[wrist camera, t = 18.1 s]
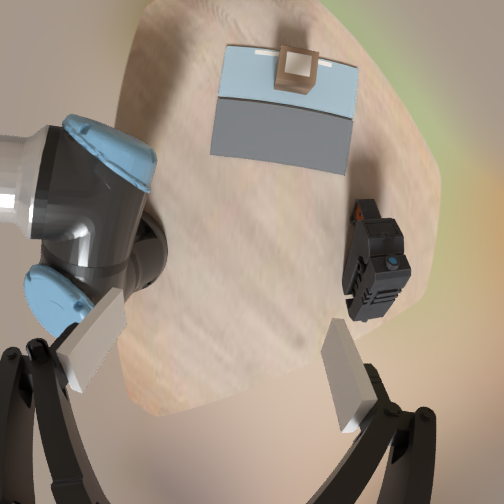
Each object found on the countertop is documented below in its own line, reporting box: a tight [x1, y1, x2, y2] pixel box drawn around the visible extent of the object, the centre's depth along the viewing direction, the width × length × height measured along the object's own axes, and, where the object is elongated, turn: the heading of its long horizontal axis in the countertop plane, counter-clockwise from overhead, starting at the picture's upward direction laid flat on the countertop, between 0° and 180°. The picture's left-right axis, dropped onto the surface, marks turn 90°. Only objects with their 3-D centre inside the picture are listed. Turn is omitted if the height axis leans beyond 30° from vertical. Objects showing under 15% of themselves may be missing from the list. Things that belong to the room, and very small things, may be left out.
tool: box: [342, 199, 411, 322], centre depth 40 cm, size 6×19×15 cm, turn 6°
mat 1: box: [218, 46, 358, 119], centre depth 34 cm, size 21×9×1 cm, turn 82°
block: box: [274, 45, 319, 95], centre depth 31 cm, size 5×5×7 cm
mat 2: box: [210, 99, 353, 175], centre depth 38 cm, size 21×9×1 cm, turn 82°
